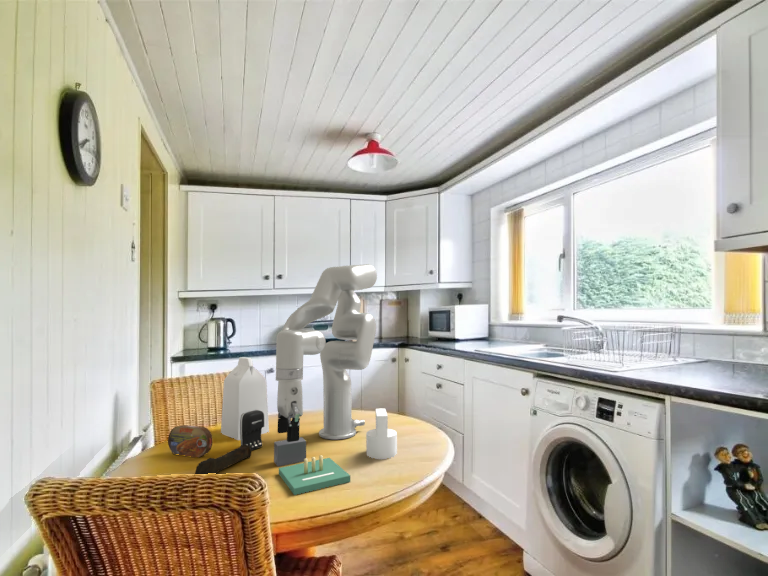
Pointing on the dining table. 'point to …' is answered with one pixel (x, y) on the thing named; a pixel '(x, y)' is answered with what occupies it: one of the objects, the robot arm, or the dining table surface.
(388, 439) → the base with upright slab
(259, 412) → the black battery charger
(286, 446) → the block
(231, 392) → the milk
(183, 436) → the tin
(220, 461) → the hand tool
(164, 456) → the dining table surface
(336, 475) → the header board
